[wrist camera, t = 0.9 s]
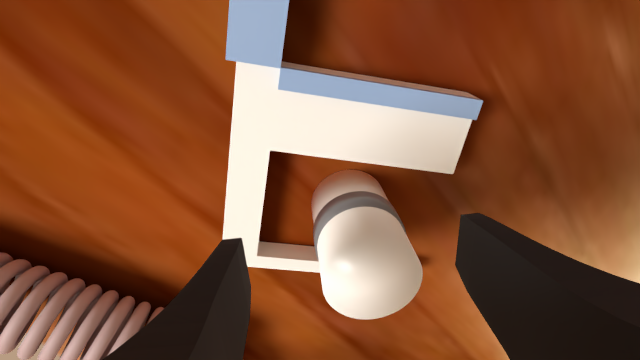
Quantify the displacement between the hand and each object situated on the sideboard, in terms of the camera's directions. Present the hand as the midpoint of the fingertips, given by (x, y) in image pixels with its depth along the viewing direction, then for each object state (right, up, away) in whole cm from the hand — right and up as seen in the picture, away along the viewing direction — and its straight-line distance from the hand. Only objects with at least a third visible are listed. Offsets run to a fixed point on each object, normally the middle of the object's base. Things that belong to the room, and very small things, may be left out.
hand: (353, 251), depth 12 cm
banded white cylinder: (+1, +1, +10) cm, 10 cm away
